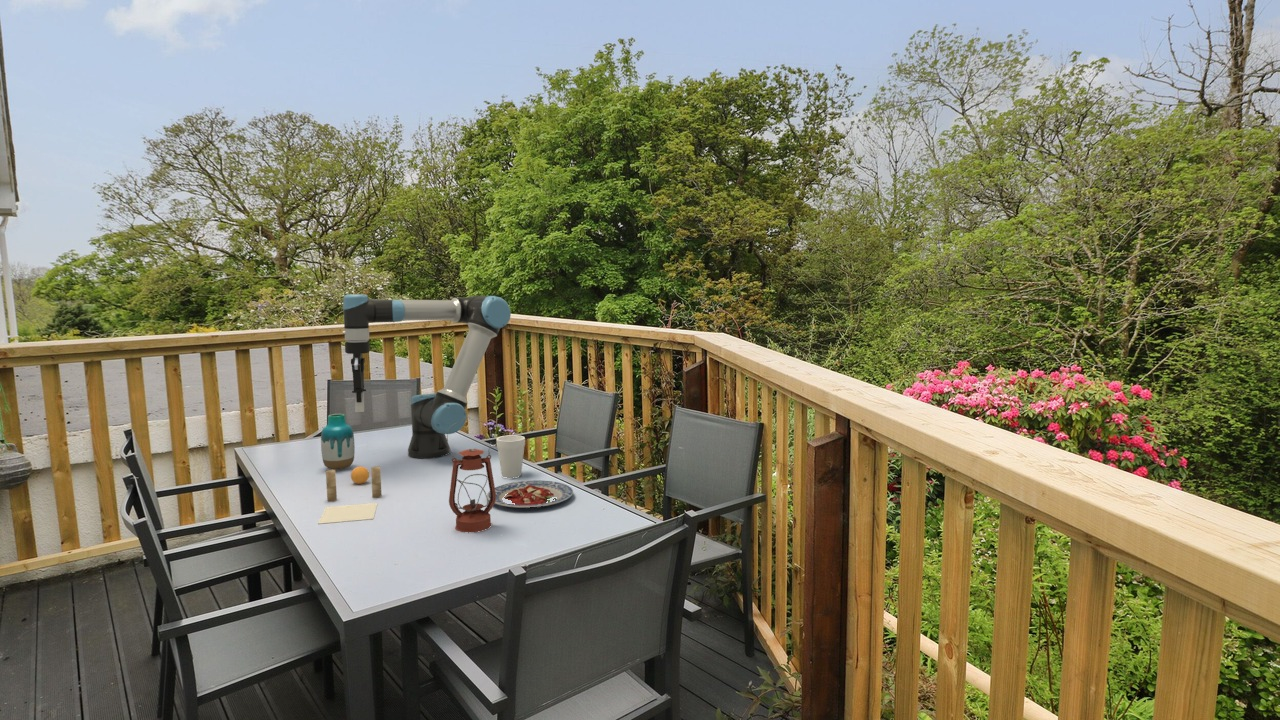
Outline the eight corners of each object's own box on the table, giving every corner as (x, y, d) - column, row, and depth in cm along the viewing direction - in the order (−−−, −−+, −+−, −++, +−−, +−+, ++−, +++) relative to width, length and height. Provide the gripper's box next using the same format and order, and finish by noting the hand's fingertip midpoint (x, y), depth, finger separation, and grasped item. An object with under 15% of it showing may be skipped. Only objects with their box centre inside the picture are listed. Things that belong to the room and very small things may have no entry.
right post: (381, 494, 209) (380, 466, 208) (381, 497, 207) (379, 468, 206) (372, 495, 208) (371, 467, 207) (372, 498, 206) (370, 469, 205)
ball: (370, 480, 224) (369, 464, 224) (368, 485, 219) (367, 468, 218) (352, 481, 223) (351, 465, 222) (350, 486, 217) (349, 469, 217)
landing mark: (377, 503, 201) (377, 502, 201) (373, 519, 188) (373, 518, 188) (325, 507, 197) (325, 507, 197) (317, 524, 184) (317, 523, 184)
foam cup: (491, 478, 227) (490, 440, 226) (507, 471, 236) (506, 434, 234) (516, 481, 224) (515, 442, 222) (530, 473, 232) (530, 436, 231)
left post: (337, 498, 205) (335, 469, 204) (336, 501, 203) (334, 471, 202) (328, 499, 205) (326, 470, 204) (326, 501, 202) (325, 472, 201)
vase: (347, 473, 233) (344, 418, 230) (316, 473, 233) (313, 418, 231) (360, 465, 243) (358, 412, 241) (331, 464, 243) (328, 412, 241)
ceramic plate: (469, 500, 205) (469, 490, 205) (537, 482, 224) (537, 473, 224) (522, 520, 188) (522, 510, 187) (590, 499, 206) (590, 489, 206)
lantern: (472, 535, 176) (469, 421, 172) (445, 527, 181) (441, 417, 178) (499, 524, 184) (496, 415, 181) (472, 517, 189) (469, 411, 186)
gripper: (347, 339, 230) (350, 408, 232) (342, 343, 217) (345, 415, 220) (371, 339, 232) (373, 407, 235) (367, 342, 220) (370, 414, 222)
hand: (359, 411), depth 227 cm, fingers closed
